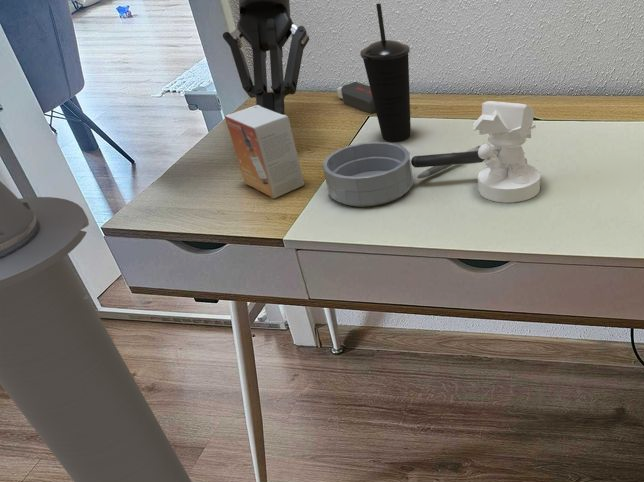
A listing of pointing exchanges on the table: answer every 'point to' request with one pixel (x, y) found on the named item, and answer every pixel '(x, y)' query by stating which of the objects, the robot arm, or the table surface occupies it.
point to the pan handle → (446, 159)
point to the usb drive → (357, 96)
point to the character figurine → (506, 153)
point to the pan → (368, 173)
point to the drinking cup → (389, 84)
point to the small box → (265, 150)
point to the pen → (439, 167)
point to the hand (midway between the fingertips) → (272, 137)
